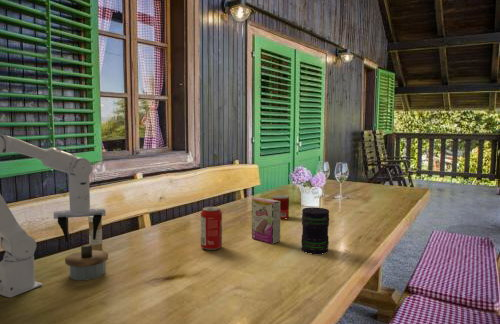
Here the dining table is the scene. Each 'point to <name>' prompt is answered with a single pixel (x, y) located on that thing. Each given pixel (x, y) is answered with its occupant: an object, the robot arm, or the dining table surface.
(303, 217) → the storage jar
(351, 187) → the dining table surface
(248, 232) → the dining table surface
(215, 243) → the soda can
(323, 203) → the dining table surface
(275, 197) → the canned food
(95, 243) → the sprinkles bottle
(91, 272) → the bowl
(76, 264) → the lid
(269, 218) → the candy bar box
